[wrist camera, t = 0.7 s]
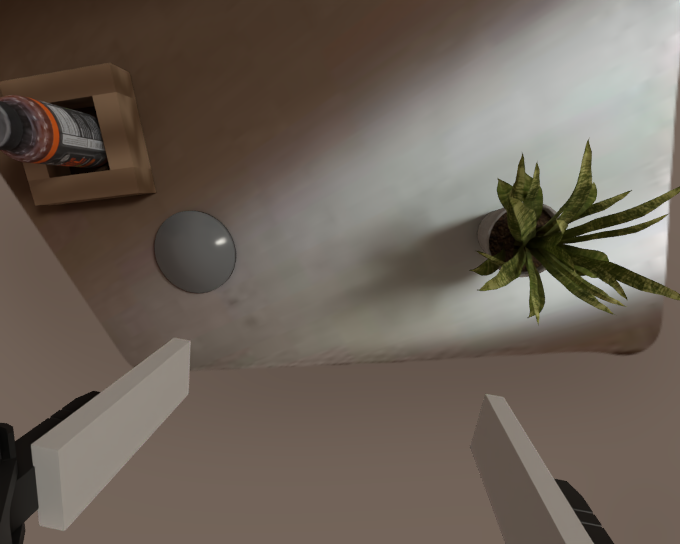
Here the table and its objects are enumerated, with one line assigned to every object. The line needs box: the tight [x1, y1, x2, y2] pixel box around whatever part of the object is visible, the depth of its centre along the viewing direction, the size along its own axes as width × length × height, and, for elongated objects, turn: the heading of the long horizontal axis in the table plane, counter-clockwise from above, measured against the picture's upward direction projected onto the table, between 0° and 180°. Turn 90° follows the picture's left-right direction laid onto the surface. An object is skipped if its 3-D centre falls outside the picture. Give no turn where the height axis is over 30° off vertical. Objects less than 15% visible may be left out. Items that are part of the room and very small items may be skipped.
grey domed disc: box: [155, 211, 236, 293], centre depth 41 cm, size 10×10×1 cm
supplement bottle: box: [0, 95, 108, 168], centre depth 34 cm, size 6×6×11 cm
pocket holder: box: [0, 63, 156, 205], centre depth 38 cm, size 13×13×3 cm
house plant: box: [470, 137, 680, 325], centre depth 30 cm, size 14×14×16 cm
